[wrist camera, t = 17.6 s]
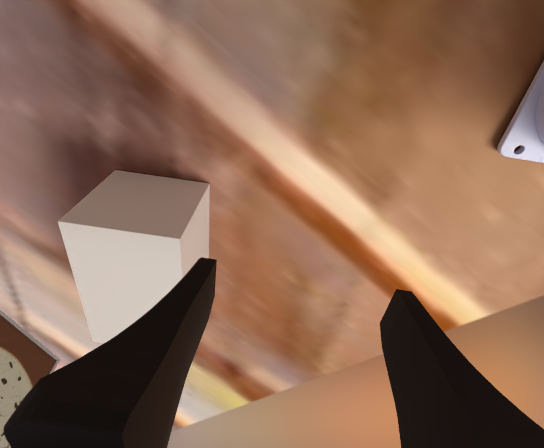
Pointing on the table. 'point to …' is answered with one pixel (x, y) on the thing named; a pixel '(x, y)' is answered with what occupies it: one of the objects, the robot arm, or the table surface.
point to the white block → (133, 245)
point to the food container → (19, 368)
